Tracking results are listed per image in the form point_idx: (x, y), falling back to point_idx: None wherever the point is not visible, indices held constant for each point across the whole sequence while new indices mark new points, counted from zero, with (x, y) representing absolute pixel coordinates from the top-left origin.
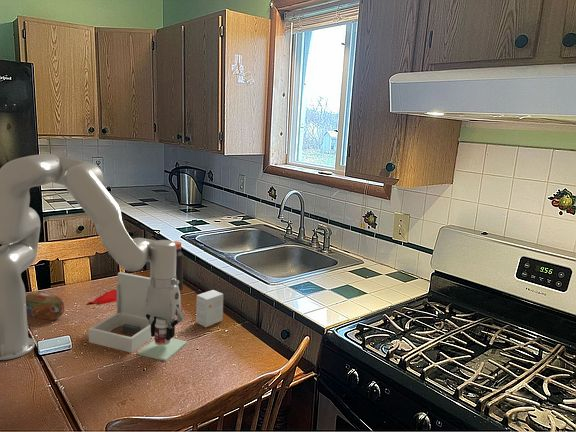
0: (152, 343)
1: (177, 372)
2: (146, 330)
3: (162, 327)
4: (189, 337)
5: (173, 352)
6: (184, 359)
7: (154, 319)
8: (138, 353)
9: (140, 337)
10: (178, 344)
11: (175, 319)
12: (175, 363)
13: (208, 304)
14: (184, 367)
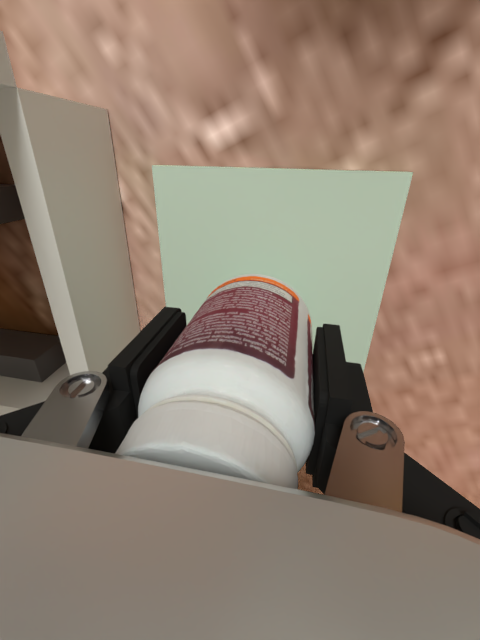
0: (180, 292)
1: (448, 477)
2: (79, 298)
3: None
4: (394, 42)
5: (362, 350)
6: (454, 376)
7: (94, 437)
8: None
9: (107, 351)
10: (354, 246)
11: (402, 500)
12: (410, 418)
13: None
14: (477, 441)
